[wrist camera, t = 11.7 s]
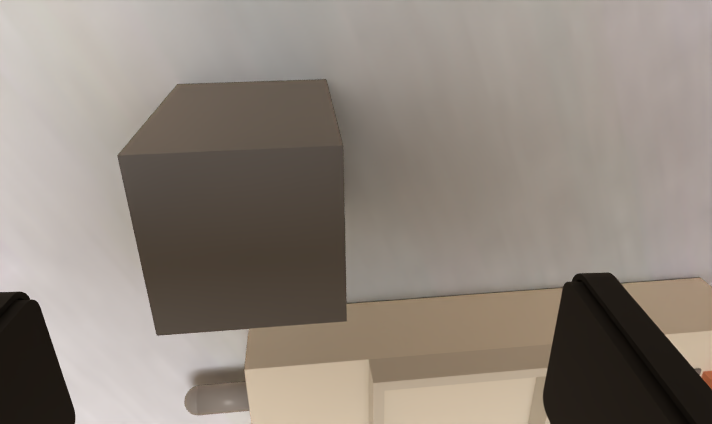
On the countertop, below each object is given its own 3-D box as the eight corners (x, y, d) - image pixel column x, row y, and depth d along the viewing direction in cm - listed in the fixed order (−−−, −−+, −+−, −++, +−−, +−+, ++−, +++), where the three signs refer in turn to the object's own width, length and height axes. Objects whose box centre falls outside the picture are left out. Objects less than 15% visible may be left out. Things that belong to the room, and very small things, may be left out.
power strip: (700, 277, 24) (785, 346, 20) (662, 393, 27) (730, 474, 23) (177, 316, 22) (149, 402, 18) (200, 437, 25) (182, 534, 21)
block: (325, 79, 19) (342, 145, 12) (330, 210, 21) (346, 323, 15) (177, 83, 18) (117, 155, 12) (198, 218, 20) (157, 337, 14)
